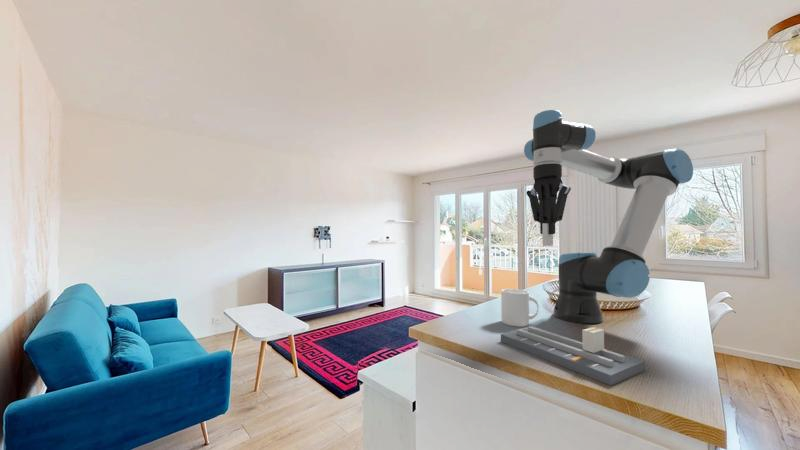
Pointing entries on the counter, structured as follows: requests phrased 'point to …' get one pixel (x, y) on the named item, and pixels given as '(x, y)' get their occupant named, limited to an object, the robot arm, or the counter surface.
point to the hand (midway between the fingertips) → (547, 245)
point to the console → (574, 355)
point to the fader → (593, 340)
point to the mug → (516, 307)
